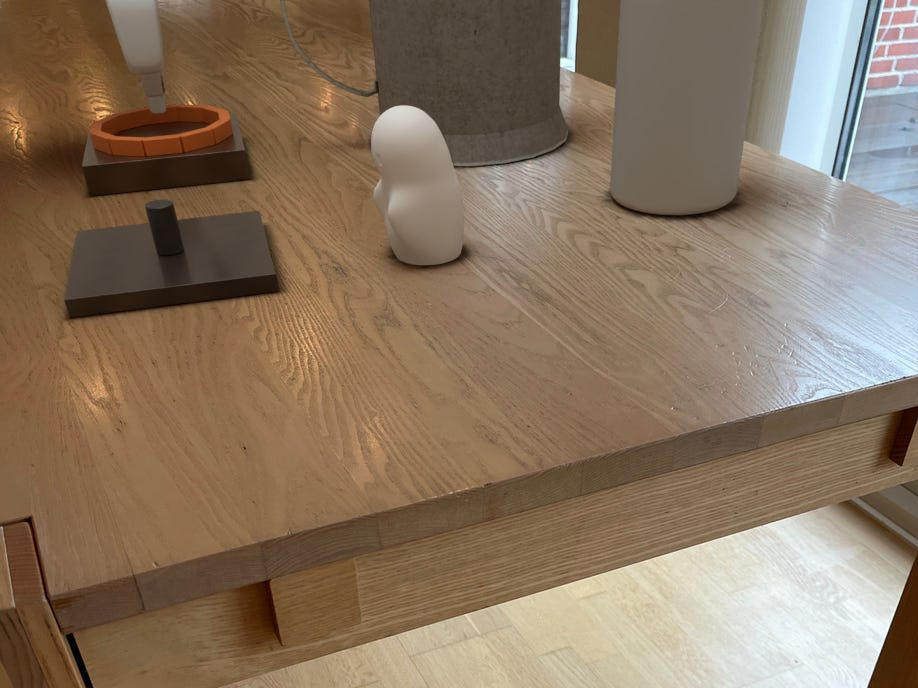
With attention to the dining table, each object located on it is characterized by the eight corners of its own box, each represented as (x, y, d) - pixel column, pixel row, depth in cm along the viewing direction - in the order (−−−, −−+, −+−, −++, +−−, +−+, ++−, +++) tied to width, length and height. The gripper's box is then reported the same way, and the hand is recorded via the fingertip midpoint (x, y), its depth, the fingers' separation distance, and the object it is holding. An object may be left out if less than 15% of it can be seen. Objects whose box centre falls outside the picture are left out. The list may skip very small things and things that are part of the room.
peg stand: (69, 317, 77) (47, 249, 74) (81, 247, 90) (62, 185, 86) (278, 291, 80) (266, 224, 77) (262, 226, 93) (251, 165, 89)
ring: (91, 162, 100) (86, 146, 99) (97, 127, 111) (93, 111, 110) (236, 147, 103) (233, 131, 102) (228, 114, 114) (225, 99, 113)
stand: (90, 196, 101) (81, 166, 99) (97, 153, 114) (89, 126, 112) (250, 179, 104) (245, 149, 102) (240, 139, 117) (235, 112, 115)
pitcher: (589, 155, 107) (601, -130, 90) (306, 182, 103) (263, -110, 86) (543, 104, 124) (545, -145, 107) (298, 125, 120) (261, -129, 103)
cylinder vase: (706, 173, 101) (742, -129, 84) (756, 210, 92) (808, -121, 75) (593, 185, 99) (607, -122, 82) (633, 223, 90) (658, -112, 73)
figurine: (373, 246, 88) (358, 100, 80) (452, 235, 89) (445, 90, 81) (392, 273, 82) (378, 120, 74) (475, 261, 84) (470, 109, 76)
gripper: (99, -52, 109) (132, 85, 118) (90, -29, 94) (129, 126, 103) (155, -56, 110) (184, 81, 119) (156, -33, 95) (188, 120, 104)
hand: (158, 102), depth 111 cm, fingers open, 8 cm apart
